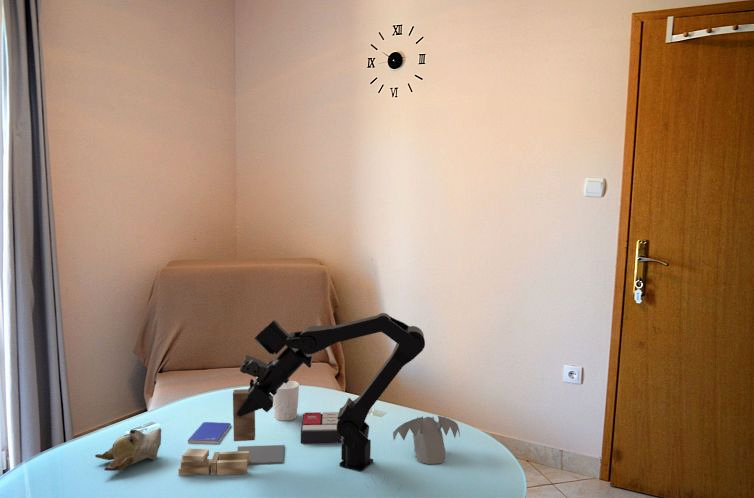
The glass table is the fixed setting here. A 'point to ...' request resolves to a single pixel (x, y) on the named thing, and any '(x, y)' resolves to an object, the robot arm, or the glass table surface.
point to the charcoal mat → (264, 454)
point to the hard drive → (209, 433)
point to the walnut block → (242, 418)
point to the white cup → (286, 401)
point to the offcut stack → (195, 462)
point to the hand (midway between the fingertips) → (238, 412)
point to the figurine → (428, 437)
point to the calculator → (320, 428)
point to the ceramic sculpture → (132, 449)
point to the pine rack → (230, 463)
